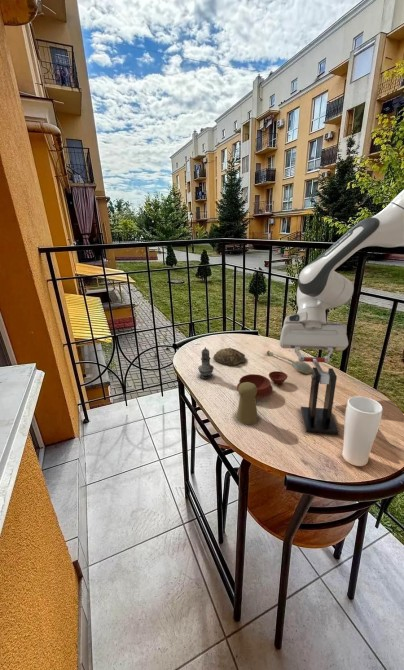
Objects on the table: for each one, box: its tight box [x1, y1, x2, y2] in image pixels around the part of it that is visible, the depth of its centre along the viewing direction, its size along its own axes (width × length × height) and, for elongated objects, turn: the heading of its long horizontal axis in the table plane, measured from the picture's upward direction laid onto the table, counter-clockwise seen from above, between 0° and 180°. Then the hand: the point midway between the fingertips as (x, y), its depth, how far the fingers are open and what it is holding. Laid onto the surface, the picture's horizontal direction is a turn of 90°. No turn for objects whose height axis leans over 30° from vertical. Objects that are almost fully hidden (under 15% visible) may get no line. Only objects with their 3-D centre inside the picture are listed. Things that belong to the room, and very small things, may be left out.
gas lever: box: [304, 356, 330, 385], centre depth 80 cm, size 16×6×2 cm, turn 169°
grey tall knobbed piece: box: [197, 347, 215, 381], centre depth 103 cm, size 6×6×12 cm
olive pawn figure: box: [236, 382, 258, 425], centre depth 80 cm, size 6×6×11 cm
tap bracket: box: [300, 366, 339, 436], centre depth 76 cm, size 10×8×16 cm
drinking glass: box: [341, 395, 383, 467], centre depth 63 cm, size 7×7×15 cm
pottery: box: [236, 370, 288, 399], centre depth 95 cm, size 12×20×4 cm, turn 123°
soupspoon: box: [266, 350, 313, 375], centre depth 113 cm, size 22×3×7 cm
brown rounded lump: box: [213, 347, 246, 366], centre depth 118 cm, size 13×12×5 cm
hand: (313, 361), depth 86 cm, fingers closed on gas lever, 6 cm apart
